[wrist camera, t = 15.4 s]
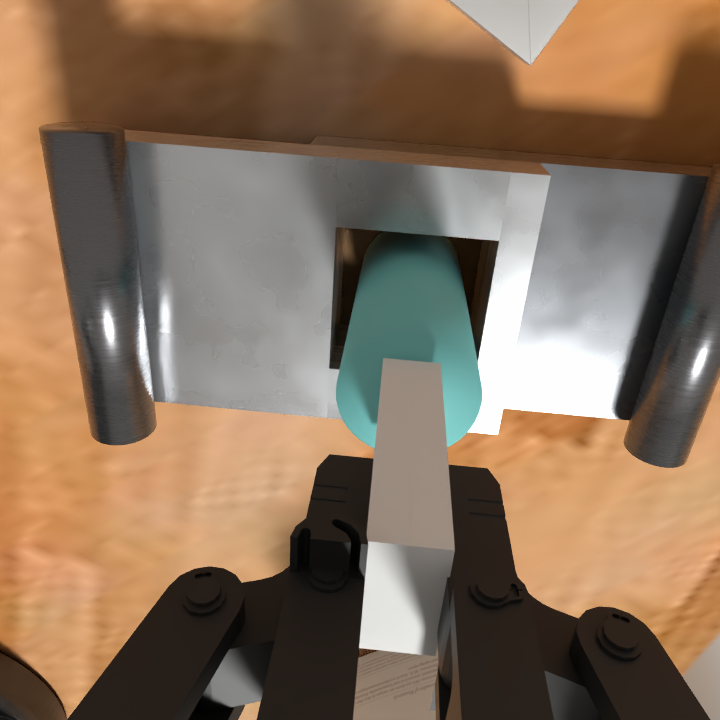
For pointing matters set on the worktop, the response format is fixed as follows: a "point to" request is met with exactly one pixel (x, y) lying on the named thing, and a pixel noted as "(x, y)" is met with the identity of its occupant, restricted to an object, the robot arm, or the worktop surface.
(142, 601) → the worktop surface
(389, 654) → the supplement box
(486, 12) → the picture frame
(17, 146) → the worktop surface
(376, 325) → the pin
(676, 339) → the plate with side rollers
